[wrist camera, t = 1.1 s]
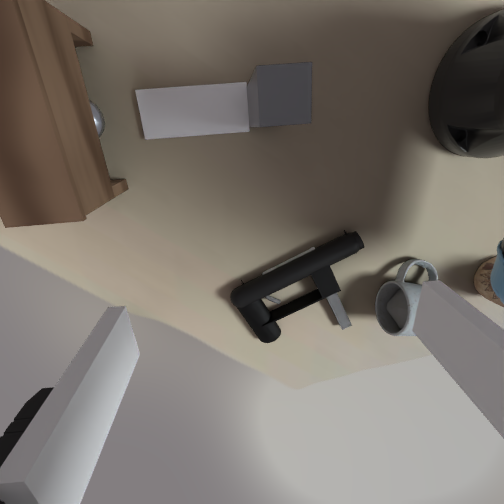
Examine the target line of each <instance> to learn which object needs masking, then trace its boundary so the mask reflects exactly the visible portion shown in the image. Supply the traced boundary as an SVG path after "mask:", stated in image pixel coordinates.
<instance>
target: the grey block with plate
mask: <svg viewBox="0 0 504 504" xmlns="http://www.w3.org/2000/svg"><path fill="white" fill-rule="evenodd" d="M135 92H136V97H137V102H138V107H139V111H140V116H141V121H142V126H143V131H144V136H145V140H147V139H160V138H173V137H186V136H199V135H212V134H225V133H238V132H250V129H249V127H269V126H282V125H295V124H308V123H311V109H312V62H304V63H289V64H275V65H260V66H256V68H255V70H254V72H253V74H252V77H251V79H250V81H249V83H248V85H247V84H246V82H238V83H224V84H210V85H196V86H182V87H167V88H153V89H139V90H135Z"/></svg>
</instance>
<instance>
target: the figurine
mask: <svg viewBox="0 0 504 504" xmlns="http://www.w3.org/2000/svg"><path fill="white" fill-rule="evenodd" d="M496 257H497V256H496ZM496 257H494V258H491V259H490V260H488V261H486V262H484V263H482V265H481V266H480V267H479V268H478V270H477V272H476V273H475V276H474V285H475V288H476V289H477V291H478V292H479V293H480V294H481V295H482V296H484V297H485V298H486V299H488V300H490V301H492V302H494V303H496V304H498V305H500V306H502V307H504V304H503V303H502V302H501V300H500V298H499V297H498V296H497V295H496V294H495V292H494V291H493V289H492V286H491V281H490V276H491V272H492V269H493V266H494V263H495V260H496Z"/></svg>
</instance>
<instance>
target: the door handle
mask: <svg viewBox="0 0 504 504" xmlns="http://www.w3.org/2000/svg"><path fill="white" fill-rule="evenodd" d="M344 232H345V230H344ZM362 248H364V244H363V241H362V239H361V237H360V236H359V234H358V233H357V232H356V231H355V232H353V233H346V232H345V234H344V235H342V236H340V237H338V238H336V239H334V240H332V241H330V242H328V243H326V244H324V245H322V246H320V247H318V248H316V249H315V247H311V248H310V249H309V250H307V251H305V252H303V253H301V254H299V255H297V256H295V257H293V258H291V259H289V260H287V261H285V262H283V263H281V264H279V265H277V266H275V267H273V268H271V269H269V270H267V271H265V272H263V273H262V276H260V277H258V278H256V279H253V280H251V281H249V282H247V283H245V284H244V283H243V281H242V280H241V281H242V283H243V284H242V285H241V286H239V287H237V288H235V289H234V290H233V291H232V293H231V302H232V303H233V305H234V306H236V307H237V308H238V309H239V311H240V312H241V314H242V315H243V317H244V318H245V319H246V321H247V322H248V324H249V325H250V327H251V328H252V329H253V331H254V332H255V334H256V335H257V337H258V338H259V339H260V341H261V342H264V343H270V342H273V341H275V340H276V339H277V338H278V337H279V336H280V334H281V329H280V328H279V326H278V325H277V323H276V321H277V320H279V319H281V318H284V317H286V316H288V315H290V314H292V313H294V312H296V311H299V310H301V309H303V308H305V307H307V306H309V305H311V304H313V303H316V302H318V301H320V300H322V299H324V298H327V300H328V302H329V304H330V306H331V308H332V310H333V312H334V314H335V316H336V318H337V321H338V323H339V325H340V326H341V328H342V330H343V329H345V328H347V327H349V326H352V325H351V322H350V320H349V318H348V316H347V314H346V312H345V309H344V307H343V305H342V303H341V301H340V299H339V296H338V294H337V292H339V291H341V290H340V288H339V285H338V283H337V281H336V279H335V276H334V274H333V272H332V270H331V268H330V265H332V264H335V263H337V262H339V261H341V260H343V259H345V258H347V257H349V256H351V255H353V254H355V253H357V252H358V251H359V250H360V249H362ZM310 275H311V276H312V278H313V280H314V282H315V284H316V286H317V288H318V289H316V290H314V291H312V292H310V293H308V294H306V295H304V296H302V297H300V298H298V299H295V300H293V301H291V302H289V303H287V304H285V305H283V306H281V307H279V308H277V309H274V310H272V311H270V312H269V310H268V309H267V307H266V306H265V304H264V302H263V301H262V298H264V297H265V298H267V299H268V300H270V301H272V302H274V303H277V304H280V300H279V299H276V298H273V297H271V296H269V295H270V294H272V293H274V292H277V291H279V290H281V289H283V288H285V287H287V286H289V285H291V284H293V283H295V282H297V281H299V280H301V279H303V278H306V277H308V276H310Z"/></svg>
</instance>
